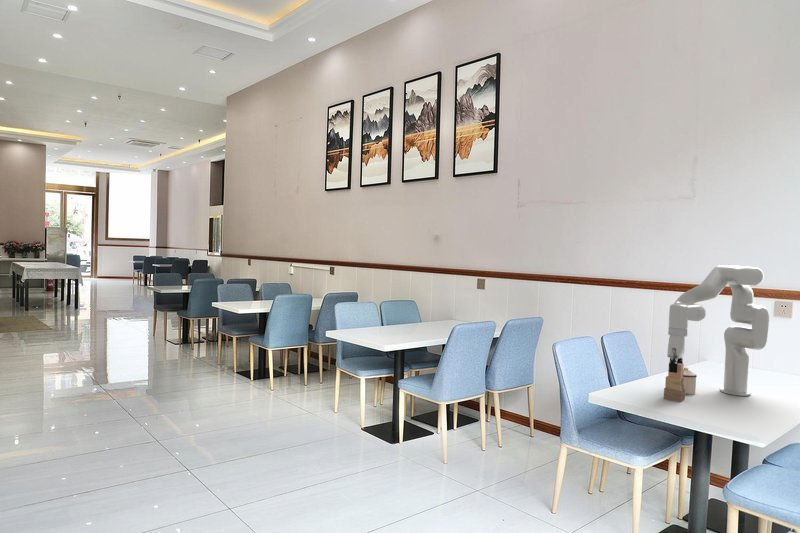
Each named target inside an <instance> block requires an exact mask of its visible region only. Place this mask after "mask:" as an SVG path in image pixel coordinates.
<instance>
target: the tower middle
mask: <svg viewBox="0 0 800 533" xmlns="http://www.w3.org/2000/svg"><path fill="white" fill-rule="evenodd" d="M664 386H665V387H664V388H668V389H673V390H679V391H680V390H682V389H684V377H683V378H681V379H678V378H672V377H668V375H666V376H665V385H664Z"/></svg>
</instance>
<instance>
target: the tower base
mask: <svg viewBox="0 0 800 533" xmlns="http://www.w3.org/2000/svg"><path fill="white" fill-rule="evenodd" d="M685 399H686V394H685V388H684V389H682V390H680V391H679V390H673V389H668V388H665V387H664V390H663V400H667V401H671V402H677V403H682V402H684V400H685Z"/></svg>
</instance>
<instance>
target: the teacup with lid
mask: <svg viewBox="0 0 800 533" xmlns="http://www.w3.org/2000/svg"><path fill="white" fill-rule="evenodd" d="M683 377H684V388H685V395H687V394H688V395H690V396H692V395H695V394H696V390H697V389H696V386H697V373H695V372H692V371H691V370H690V369H689V367H684V369H683Z"/></svg>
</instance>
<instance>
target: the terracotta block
mask: <svg viewBox="0 0 800 533" xmlns="http://www.w3.org/2000/svg"><path fill="white" fill-rule="evenodd" d="M684 366H685V364H684V363H683V364H682V363H677V373H673V372H669V369H668V372H667V376H668V377H672V378H678V379H681V378H683V369H684Z"/></svg>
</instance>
